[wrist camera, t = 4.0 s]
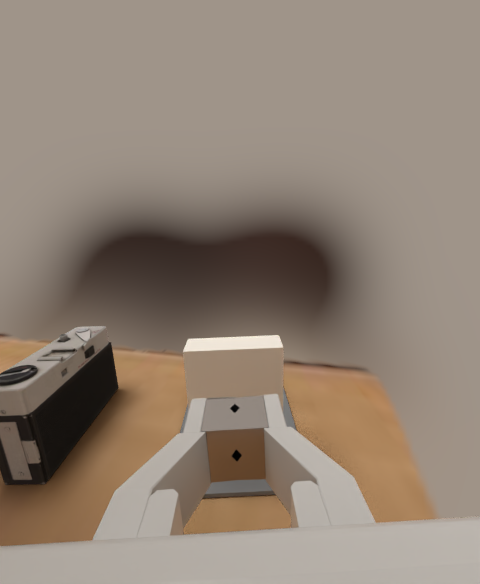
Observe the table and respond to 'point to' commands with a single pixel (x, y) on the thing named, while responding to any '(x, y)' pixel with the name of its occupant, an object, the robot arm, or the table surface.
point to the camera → (53, 402)
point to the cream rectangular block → (233, 367)
